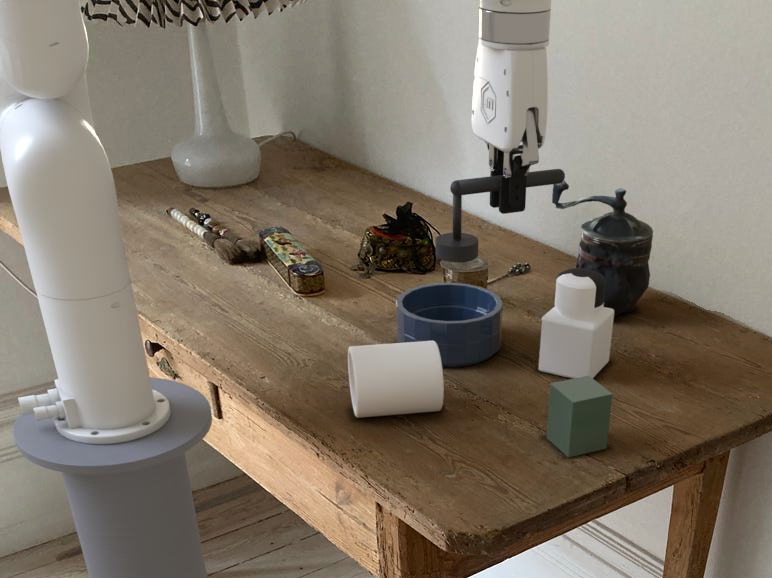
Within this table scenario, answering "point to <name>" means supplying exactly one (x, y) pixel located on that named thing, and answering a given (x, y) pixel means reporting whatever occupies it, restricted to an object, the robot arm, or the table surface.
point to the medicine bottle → (576, 326)
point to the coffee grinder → (614, 249)
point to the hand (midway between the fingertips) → (507, 207)
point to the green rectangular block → (578, 416)
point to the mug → (395, 378)
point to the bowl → (452, 321)
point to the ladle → (458, 243)
